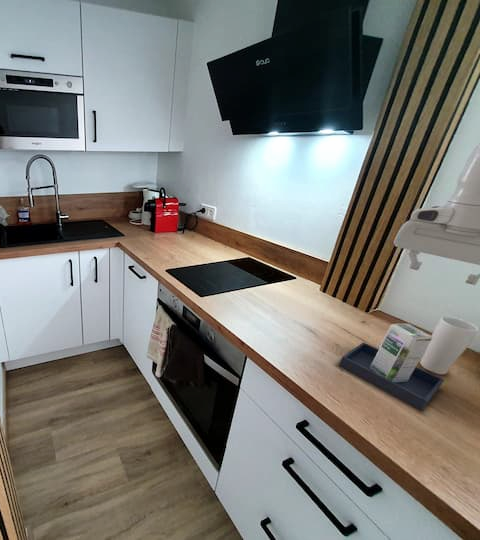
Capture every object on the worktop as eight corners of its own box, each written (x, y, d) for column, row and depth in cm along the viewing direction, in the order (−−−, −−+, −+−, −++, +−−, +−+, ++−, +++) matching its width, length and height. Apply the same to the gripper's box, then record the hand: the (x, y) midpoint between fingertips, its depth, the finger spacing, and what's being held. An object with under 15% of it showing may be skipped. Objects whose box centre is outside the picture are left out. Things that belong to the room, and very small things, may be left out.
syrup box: (368, 368, 78) (389, 323, 72) (387, 366, 79) (409, 322, 73) (388, 383, 73) (413, 337, 67) (408, 382, 74) (434, 336, 68)
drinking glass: (416, 356, 84) (440, 313, 78) (449, 369, 79) (477, 323, 74) (415, 368, 79) (440, 322, 73) (450, 381, 75) (480, 334, 69)
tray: (438, 388, 73) (444, 379, 71) (421, 410, 66) (427, 401, 65) (359, 350, 86) (363, 341, 85) (338, 365, 80) (342, 356, 78)
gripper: (555, 226, 55) (514, 290, 60) (413, 207, 70) (391, 259, 76) (551, 230, 51) (508, 297, 57) (404, 210, 67) (382, 264, 73)
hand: (440, 275), depth 67 cm, fingers open, 8 cm apart
